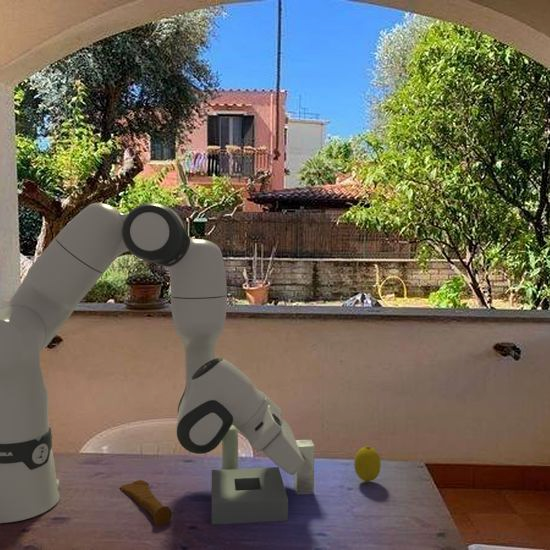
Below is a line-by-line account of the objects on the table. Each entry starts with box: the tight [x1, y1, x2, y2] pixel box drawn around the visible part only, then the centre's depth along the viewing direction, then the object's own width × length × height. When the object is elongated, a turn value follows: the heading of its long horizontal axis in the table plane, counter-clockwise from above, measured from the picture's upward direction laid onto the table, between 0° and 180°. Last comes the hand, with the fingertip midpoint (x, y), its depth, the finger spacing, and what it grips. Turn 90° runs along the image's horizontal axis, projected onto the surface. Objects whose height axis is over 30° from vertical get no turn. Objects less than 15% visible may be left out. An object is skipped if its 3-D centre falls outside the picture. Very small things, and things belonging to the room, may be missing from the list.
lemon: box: [354, 445, 382, 483], centre depth 115 cm, size 6×6×8 cm
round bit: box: [221, 425, 239, 470], centre depth 120 cm, size 4×4×10 cm
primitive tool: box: [119, 479, 173, 527], centre depth 106 cm, size 19×6×4 cm, turn 35°
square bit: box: [293, 439, 315, 495], centre depth 111 cm, size 4×4×10 cm
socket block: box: [211, 466, 289, 526], centre depth 106 cm, size 14×14×4 cm
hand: (307, 464), depth 111 cm, fingers closed on square bit, 3 cm apart
